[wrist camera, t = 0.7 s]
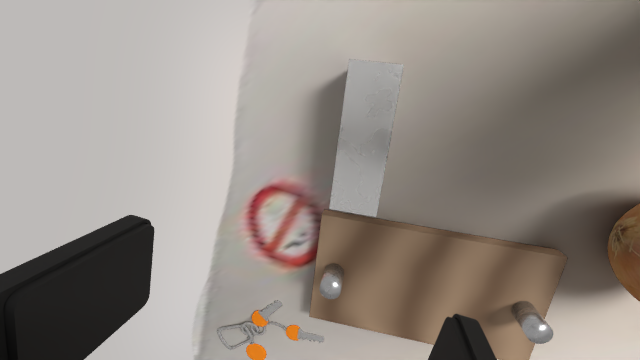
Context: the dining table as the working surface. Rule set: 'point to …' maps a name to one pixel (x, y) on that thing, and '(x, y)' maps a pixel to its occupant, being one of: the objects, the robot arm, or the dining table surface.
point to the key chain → (261, 319)
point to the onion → (626, 250)
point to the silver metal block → (365, 135)
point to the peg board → (433, 282)
